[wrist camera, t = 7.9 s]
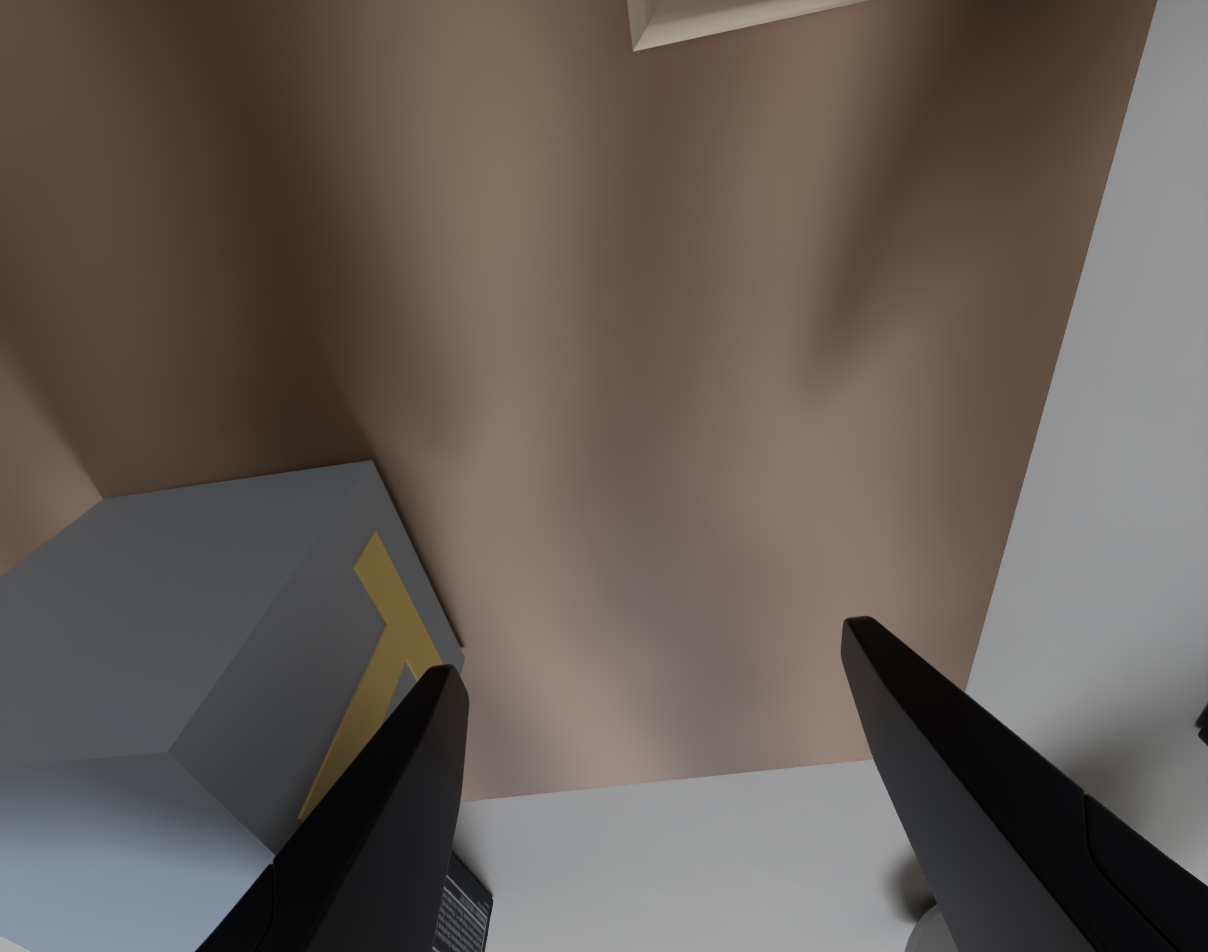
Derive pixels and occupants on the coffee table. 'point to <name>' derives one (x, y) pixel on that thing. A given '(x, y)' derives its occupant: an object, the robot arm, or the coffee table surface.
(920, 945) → the headphones
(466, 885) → the small box
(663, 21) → the birch cube
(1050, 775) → the robot arm
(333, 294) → the walnut board
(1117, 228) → the coffee table surface
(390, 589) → the slate cube
